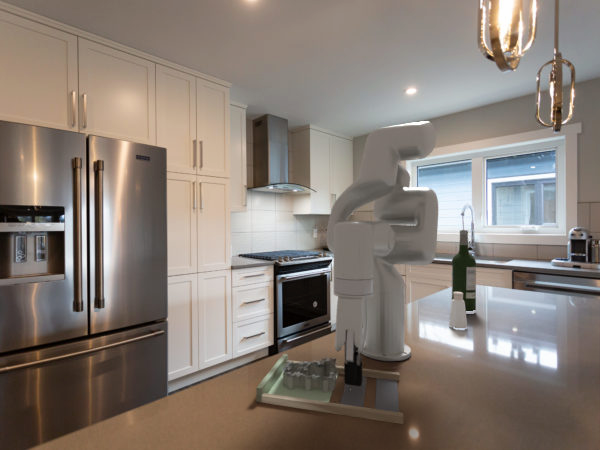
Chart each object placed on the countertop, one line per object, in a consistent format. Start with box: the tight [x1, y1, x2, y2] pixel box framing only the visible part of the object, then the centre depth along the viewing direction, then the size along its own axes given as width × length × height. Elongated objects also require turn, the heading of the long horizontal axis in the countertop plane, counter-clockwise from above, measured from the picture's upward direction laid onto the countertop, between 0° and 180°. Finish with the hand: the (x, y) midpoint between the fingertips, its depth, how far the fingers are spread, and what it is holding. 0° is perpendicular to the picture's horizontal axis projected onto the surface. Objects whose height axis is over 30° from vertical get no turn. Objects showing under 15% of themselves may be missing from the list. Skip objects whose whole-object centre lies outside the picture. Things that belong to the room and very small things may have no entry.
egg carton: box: [283, 357, 338, 393], centre depth 65 cm, size 11×8×4 cm
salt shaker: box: [448, 292, 468, 328], centre depth 101 cm, size 5×5×11 cm
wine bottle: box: [451, 229, 477, 311], centre depth 120 cm, size 8×8×30 cm
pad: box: [268, 371, 339, 402], centre depth 64 cm, size 14×12×1 cm
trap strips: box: [339, 376, 400, 413], centre depth 61 cm, size 14×10×1 cm
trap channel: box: [255, 353, 404, 425], centre depth 63 cm, size 16×25×2 cm, turn 75°
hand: (353, 383), depth 62 cm, fingers closed
